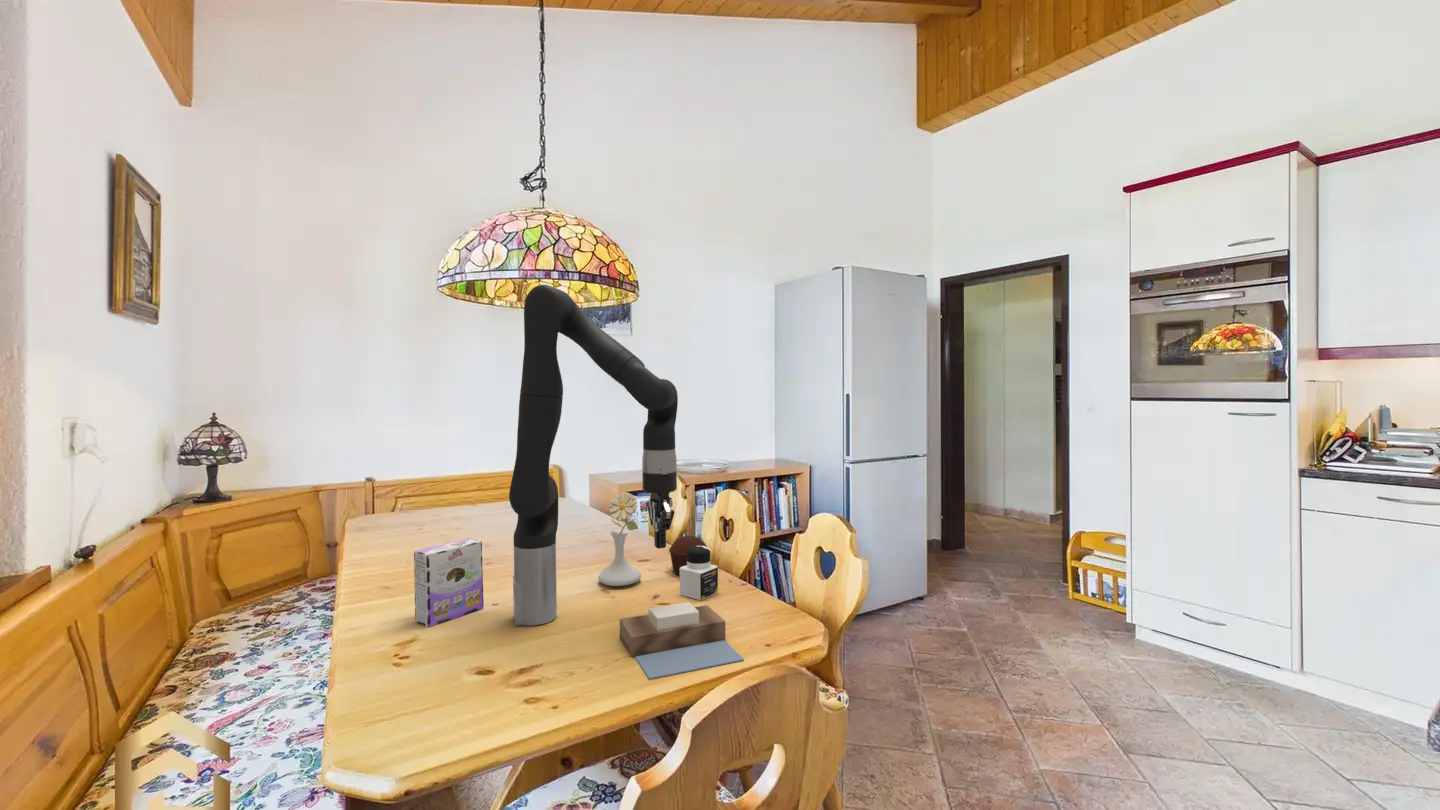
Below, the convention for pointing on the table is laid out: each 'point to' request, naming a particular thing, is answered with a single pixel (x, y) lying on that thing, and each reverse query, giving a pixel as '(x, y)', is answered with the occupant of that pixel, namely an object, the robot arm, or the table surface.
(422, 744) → the table surface
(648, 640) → the wooden block
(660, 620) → the white eraser
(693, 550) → the medicine bottle
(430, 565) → the candy box
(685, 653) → the mat
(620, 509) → the flower in vase
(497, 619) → the table surface
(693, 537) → the muffin
